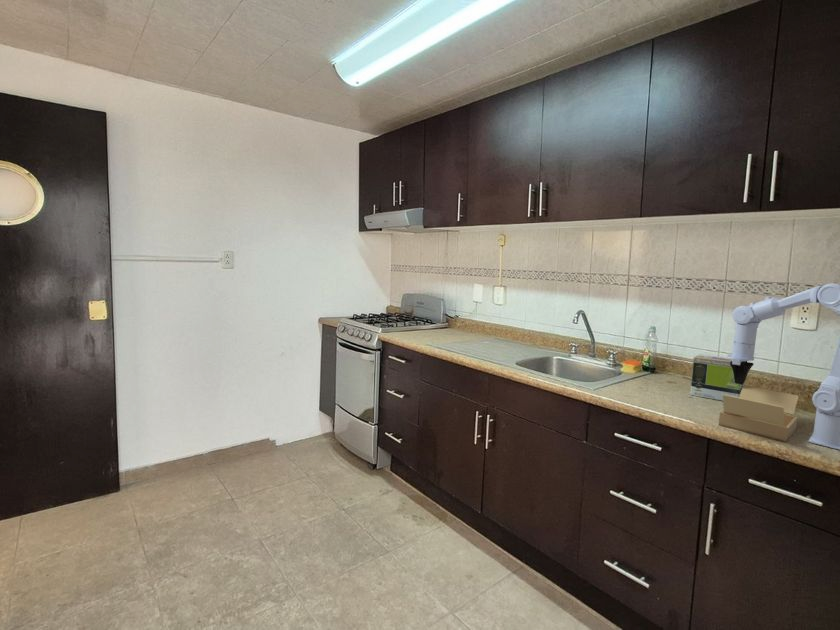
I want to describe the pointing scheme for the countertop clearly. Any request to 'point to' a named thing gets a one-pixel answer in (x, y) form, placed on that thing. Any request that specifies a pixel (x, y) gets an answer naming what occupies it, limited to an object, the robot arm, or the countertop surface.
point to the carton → (760, 426)
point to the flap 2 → (770, 397)
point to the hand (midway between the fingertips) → (739, 383)
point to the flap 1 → (754, 409)
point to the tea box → (713, 378)
